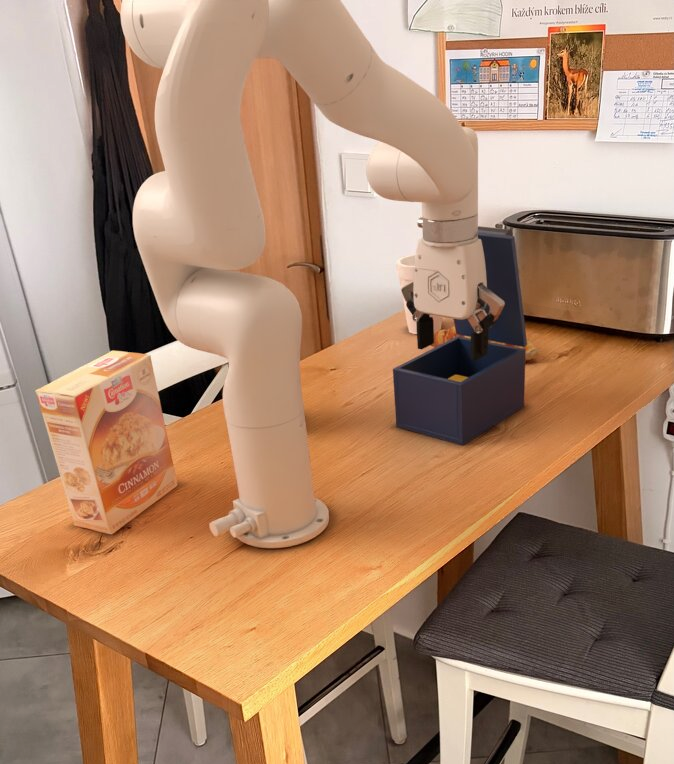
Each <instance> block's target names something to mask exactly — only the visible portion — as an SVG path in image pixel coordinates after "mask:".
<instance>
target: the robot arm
mask: <svg viewBox="0 0 674 764" xmlns="http://www.w3.org/2000/svg"><path fill="white" fill-rule="evenodd" d="M343 3H344V2H342V0H121V3H120V4H121V5H120V13H119V15H120V25H121V29H122V32H123V35H124V39H125V40H126V43H127V44H128V46H129V48H130V49H131V51H132V52H133V53H134V54H135V55H136V57H138V59H140V60H141V61H142V62H144V63H145V64H146V65H148V66H151V67H153V68H155V69H159V70H162V74H161V77H160V80H159V83H158V86H157V87H158V88H157V90H156V91H157V93H156V97H155V104H154V127H155V134H156V140H157V144H158V148H159V151H160V155H161V158H162V159H161V160H162V164H163V167H164V170H163V171H159V172H156V173H154V174H152V175H151V176H149V177H148V178H147V179H145V181H144V182H143V183H142V184H141V186H140V187H139V188H138V191H137V192H136V195H135V198H134V202H133V206H132V228H133V235H134V240H135V243H136V246H137V250H138V252H139V255H140V258H141V261H142V264H143V266H144V269H145V270H144V271H145V272H146V275H147V279H148V281H149V283H150V286H151V289H152V292H153V295H154V297H155V301H156V303H157V307H158V308H159V309H158V310H159V311H160V314H161V316H162V319H163V322H164V323H165V326H166V327H167V329H168V331H169V332H170V333H171V334H172V336H173V337H174V338H175V339H176V340H177V341H178V342H179V343H180V344H182V345H184V346H186V347H188V348H191V349H193V350H197V351H201V352H204V353H209V354H212V355H217V356H219V357H222V358H225V359H227V362H228V370H227V373H226V377H225V380H224V384H223V387H222V406H223V412H224V418H225V419H224V420H225V422H226V429H227V434H228V440H229V445H230V451H231V456H232V461H233V462H232V463H233V469H234V474H235V478H236V480H235V481H236V485H237V490H238V498H236V499H234V500H232V504H233V505H232V506H233V509H232V510H229V511H228V514H227V515H224V516H223V517H222V516H221V517H220V518H217V519H215V520H212V521H211V522H209V527H208V528H209V530H210V532H211V534H212V535H213V536H214V537H219V536H222V535H223V534H225V533H227V532H229V533H230V535H231V536H232V538H234V539H238V541H240V542H242V543H244V544H246V545H248V546H251V547H254V548H260V549H282V548H290V547H294V546H297V545H301V544H304V543H306V542H308V541H311V540H312V539H315V538H316V537H317V536H319V535H320V534H322V532H324V531H325V530H326V529H327V527H328V525H329V521H330V512H329V509H328V508H329V507H328V506H327V505H326V504H325V502H323V501H322V500H320V499H319V498H316V496H315V487H314V480H313V471H312V465H311V455H310V446H309V438H308V431H307V430H308V429H307V421H306V414H305V407H304V399H303V391H302V380H301V379H302V378H301V344H302V333H303V316H302V310H301V307H300V303H299V301H298V300H297V298H296V296H295V294H294V293H293V291H291V290H290V289H289V288H288V287H287V286H286V285H284V284H283V283H282V282H280V281H278V280H276V279H273V278H271V277H268V276H264V275H260V274H254V273H249V272H242V271H238V270H242V269H246V268H248V267H250V266H252V265H254V264H255V263H256V262H257V261H258V260H259V259H260V257H261V256H262V254H263V252H264V249H265V248H266V247H265V246H266V241H267V240H266V239H267V233H266V223H265V222H266V221H265V218H264V213H263V210H262V206H261V201H260V197H259V193H258V190H257V189H258V188H257V186H256V182H255V181H256V180H255V177H254V174H253V170H252V165H251V162H250V158H249V154H248V149H247V147H246V142H245V137H244V131H243V125H242V118H241V110H242V109H241V107H242V98H243V95H244V94H243V93H244V89H245V85H246V82H247V79H248V76H249V74H250V71H251V69H252V66H253V65H254V62H255V60H257V59H260V60H261V59H274V60H277V61H278V62H280V64H282V66H283V67H284V68H285V69H286V71H287V72H288V73H289V74H290V75H291V76H292V78H293V80H295V81H296V82H297V84H298V85H299V87H300V88H301V89H302V90H303V91H304V92H305V94H306V95H307V96H308V98H309V99H310V100H311V101H312V103H313V104H314V105H315V106H316V107H317V109H318V110H319V111H320V113H321V114H322V115H323V116H324V117H325V119H326V120H328V121H329V122H331V123H333V124H334V125H336V126H338V127H339V128H343V129H344V130H347V131H348V132H352V133H354V134H355V135H358V136H362V137H365V138H369V139H372V140H375V141H378V143H377V144H376V145H375V146H374V147H373V149H372V150H371V152H370V154H369V155H368V158H367V160H366V161H367V162H366V166H365V167H366V168H365V173H366V179H367V182H368V185H369V186H370V188H371V190H373V192H374V193H376V195H378V196H379V197H381V198H384V199H385V200H390V201H396V202H405V203H406V202H409V203H421V217H418V219H417V223H416V224H417V227H418V228H421V229H422V238H420V239H418V240H417V245H416V249H415V254H416V256H415V265H414V282H412V283H410V284H408V285H406V286H405V287H403V288H402V289H401V288H400V291H402V292H401V295H402V294H403V296H404V299H405V301H406V302H407V303H406V306H407V308H408V309H409V311H410V312H411V314H412V315H413V316H412V319H413V321H414V322H416V324H417V334H416V344H417V345H416V346H417V350H424V349H426V348H428V347H430V346H431V345H432V344H433V343H434V323H433V317H429V316H430V315H435V316H441V317H442V318H448V319H453V320H454V319H460V320H463V319H468V321H469V323H470V324H471V326H472V328H473V329H474V331H475V332H473V333H471V359H472V360H475V361H476V360H478V359H480V358H482V357H484V356H486V355H487V351H488V329H489V328H491V327H492V325H493V324H494V323H495V322H496V321H497V320H498V319H499V315H500V314H501V311H502V309H503V307H504V305H505V303H504V301H503V300H502V299H501V298H499V297H498V296H497V295H496V294H494V293H493V292H492V291H491V290H489V289H488V288H487V279H486V266H485V258H484V252H483V246H482V241H481V239H478V226H479V138H478V135H477V134H478V133H476V131H475V130H474V129H473V128H471V127H468V126H462V125H461V123H460V122H459V120H458V118H456V116H455V114H454V113H453V112H452V111H451V109H450V108H449V107H448V106H447V105H446V104H445V103H444V102H443V101H442V100H440V99H439V97H437V96H436V95H434V94H433V93H431V91H428V89H425V88H424V87H423V86H421V85H420V84H418V83H417V82H415V81H414V80H412V79H411V78H409V77H408V76H407V75H405V74H404V73H402V72H401V71H399V70H397V69H396V68H394V67H392V66H391V65H389V64H387V63H386V62H385V61H384V60H382V59H381V58H380V56H379V55H378V53H377V52H376V50H375V49H374V47H373V46H372V44H371V42H370V41H369V40H368V39H367V37H366V35H365V34H364V33H363V31H362V30H361V28H360V27H359V25H358V24H357V22H356V21H355V19H354V18H353V17H352V15H351V13H350V12H349V11H348V9H347V8H346V6H345V4H343ZM486 304H488V305H489V307H490V310H489V313H488V315H487V313H486V312H485V308H486ZM476 315H477V316H478V318H479V320H480V321H481V322H480V321H479V320H478V318H477V316H476Z"/></svg>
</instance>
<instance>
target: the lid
mask: <svg viewBox="0 0 674 764" xmlns="http://www.w3.org/2000/svg"><path fill="white" fill-rule="evenodd" d="M478 239H481V241H482V246H483V252H484V258H485V266H486V279H487V288H488V289H489V290H491V291H492V292H493V293H494V294H496V295H497V296H498V297H499V298H501V299H502V300H503V301H504V303H505V305H504V307H503V309H502V311H501V314H500V315H499V319H498V320H497V321H496V322H495V323H494V324H493V325H492V327H491V328H489V329H488V340H489V341H495V342H500V343H505V344H511V345H516V346H521V347H525V346H526V345H527V339H528V338H527V331H526V324H525V323H526V322H525V315H524V306H523V295H522V289H521V281H520V273H519V272H520V271H519V263H518V256H517V246H516V237H515V236H514V232H513V230H512V229H509V228H498V227H491V226H490V227H489V226H480V225H478ZM489 310H490V307H489V305H488V304H486V308H485V312H486V313H487V315H488V313H489ZM476 316H477V315H476ZM477 318H478V316H477ZM478 320H479V318H478ZM479 321H480V320H479ZM480 322H481V321H480ZM453 323H454V325H455V330H456V334H458V335H463V336H468V337H471V333H473V332H475V331H474V329H473V328H472V326H471V324H470V323H469V321H468V319H463V320H460V319H453ZM526 338H527V339H526Z"/></svg>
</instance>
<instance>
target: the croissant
mask: <svg viewBox="0 0 674 764" xmlns="http://www.w3.org/2000/svg"><path fill="white" fill-rule="evenodd" d="M457 336H460V337H465V338H471V337H468V336H463V335H458V334H456V330H455V324H454V325H452V326H451V328H449V329H448V330H447V329H440V330H439V331H437V332H435V333H434V343H433V344H432V345H430V346H431V347H432V348H435V347H437V346H439V345H441V344H443V343H445V342H447V341H449V340H451V339H453V338H455V337H457ZM526 339H527V345H526V346H525V347H521V346H516V345H511V344H505V343H500V342H495V341H489V340H488V342H492V343H497V344H502V345H507V346H513V347H518V348H523V349H525V361H530V360H533V359H535V358H536V357H538V356H539V349H538V348H537V346H535V345H534V343H532V342H531V340H530V339H529V338H527V337H526Z"/></svg>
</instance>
